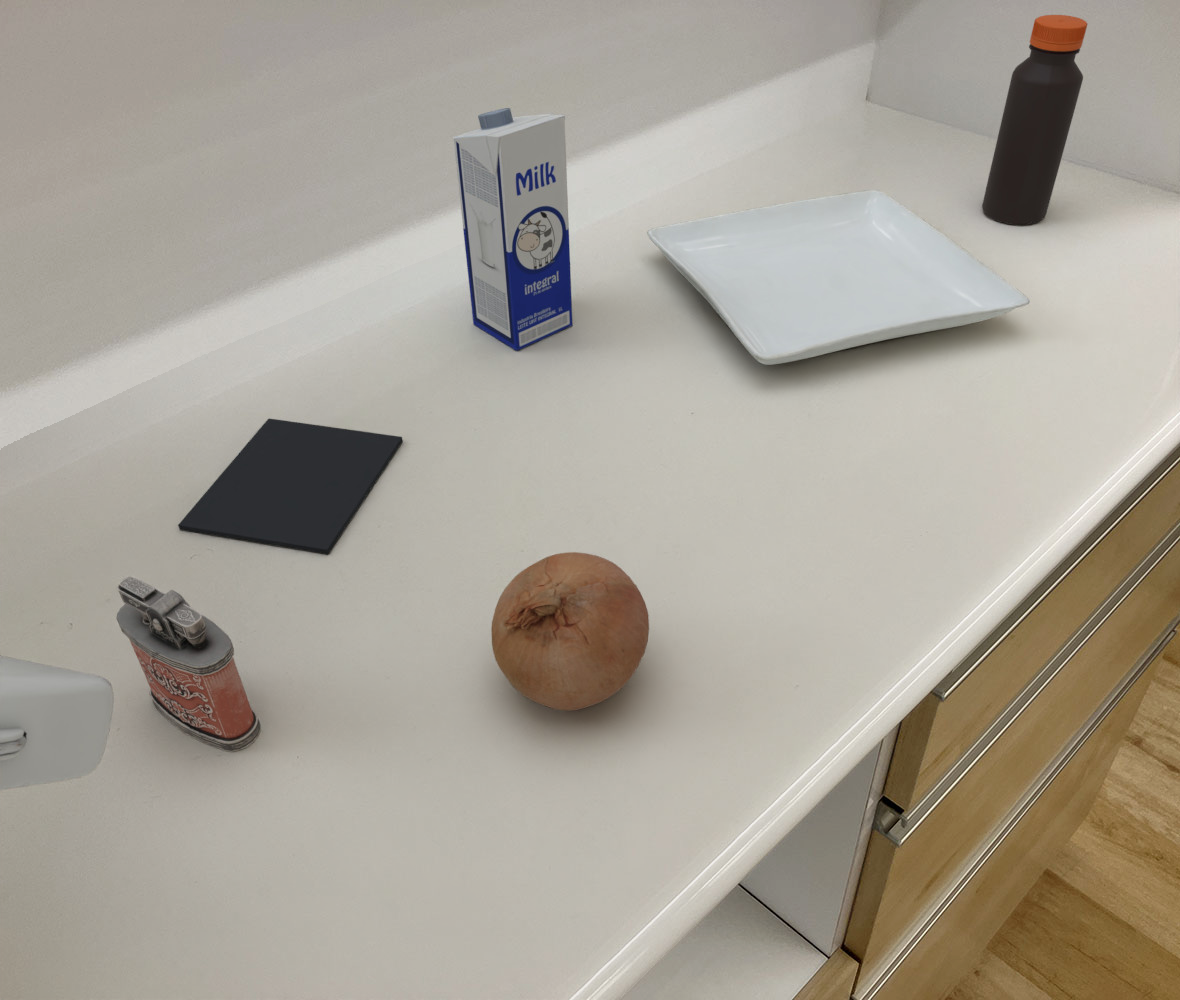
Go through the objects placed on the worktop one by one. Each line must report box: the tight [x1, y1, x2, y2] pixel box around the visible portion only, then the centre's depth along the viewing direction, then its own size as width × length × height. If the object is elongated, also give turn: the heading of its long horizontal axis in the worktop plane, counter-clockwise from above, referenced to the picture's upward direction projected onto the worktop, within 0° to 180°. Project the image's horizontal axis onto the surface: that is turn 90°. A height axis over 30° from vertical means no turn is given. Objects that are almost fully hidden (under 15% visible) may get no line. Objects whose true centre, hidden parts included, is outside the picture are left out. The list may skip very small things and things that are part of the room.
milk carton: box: [452, 107, 573, 352], centre depth 93 cm, size 7×7×20 cm
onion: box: [490, 551, 650, 711], centre depth 63 cm, size 10×9×10 cm
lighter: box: [115, 575, 261, 753], centre depth 61 cm, size 8×3×10 cm, turn 57°
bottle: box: [981, 14, 1088, 226], centre depth 109 cm, size 7×7×20 cm
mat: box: [177, 418, 404, 555], centre depth 81 cm, size 12×14×1 cm
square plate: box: [646, 189, 1030, 366], centre depth 101 cm, size 27×27×4 cm
